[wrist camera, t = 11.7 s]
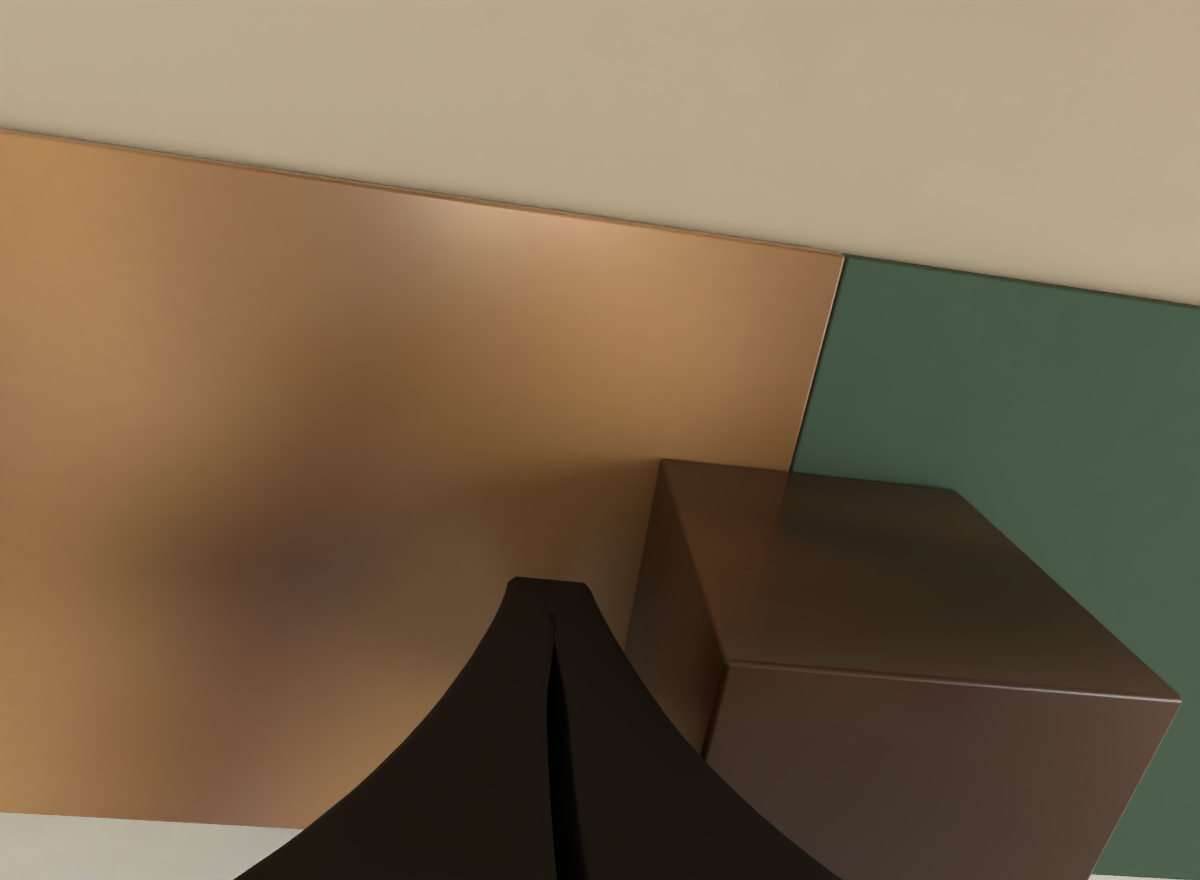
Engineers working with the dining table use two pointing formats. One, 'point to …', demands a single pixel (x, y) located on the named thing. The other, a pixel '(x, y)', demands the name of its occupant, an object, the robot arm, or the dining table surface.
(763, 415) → the board
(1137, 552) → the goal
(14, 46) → the dining table surface
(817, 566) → the cube
